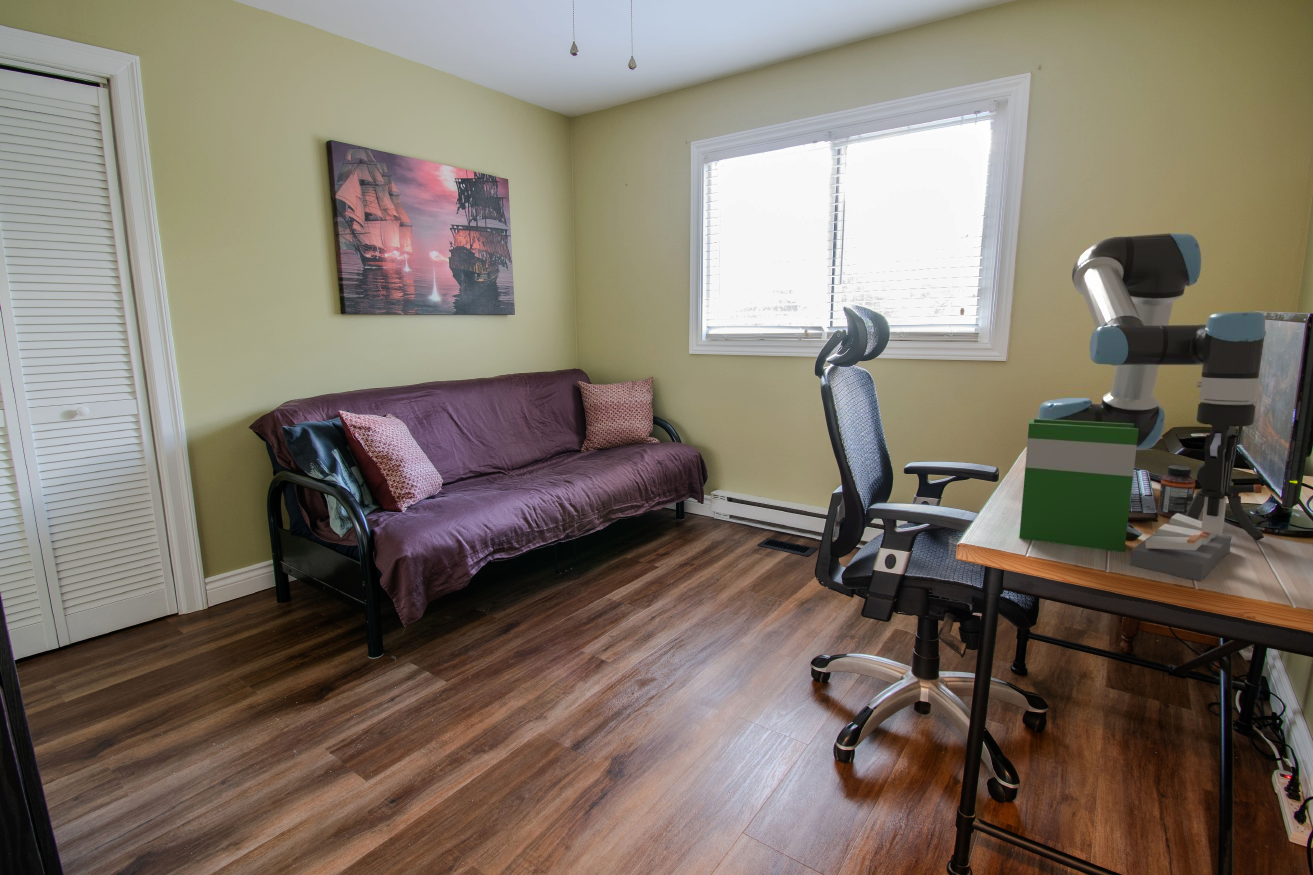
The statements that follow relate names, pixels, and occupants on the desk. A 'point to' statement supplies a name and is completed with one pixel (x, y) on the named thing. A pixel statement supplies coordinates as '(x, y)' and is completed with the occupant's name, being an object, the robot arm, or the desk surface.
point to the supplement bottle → (1176, 491)
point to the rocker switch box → (1182, 558)
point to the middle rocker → (1183, 532)
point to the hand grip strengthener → (1234, 504)
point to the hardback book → (1078, 483)
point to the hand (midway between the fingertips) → (1211, 531)
